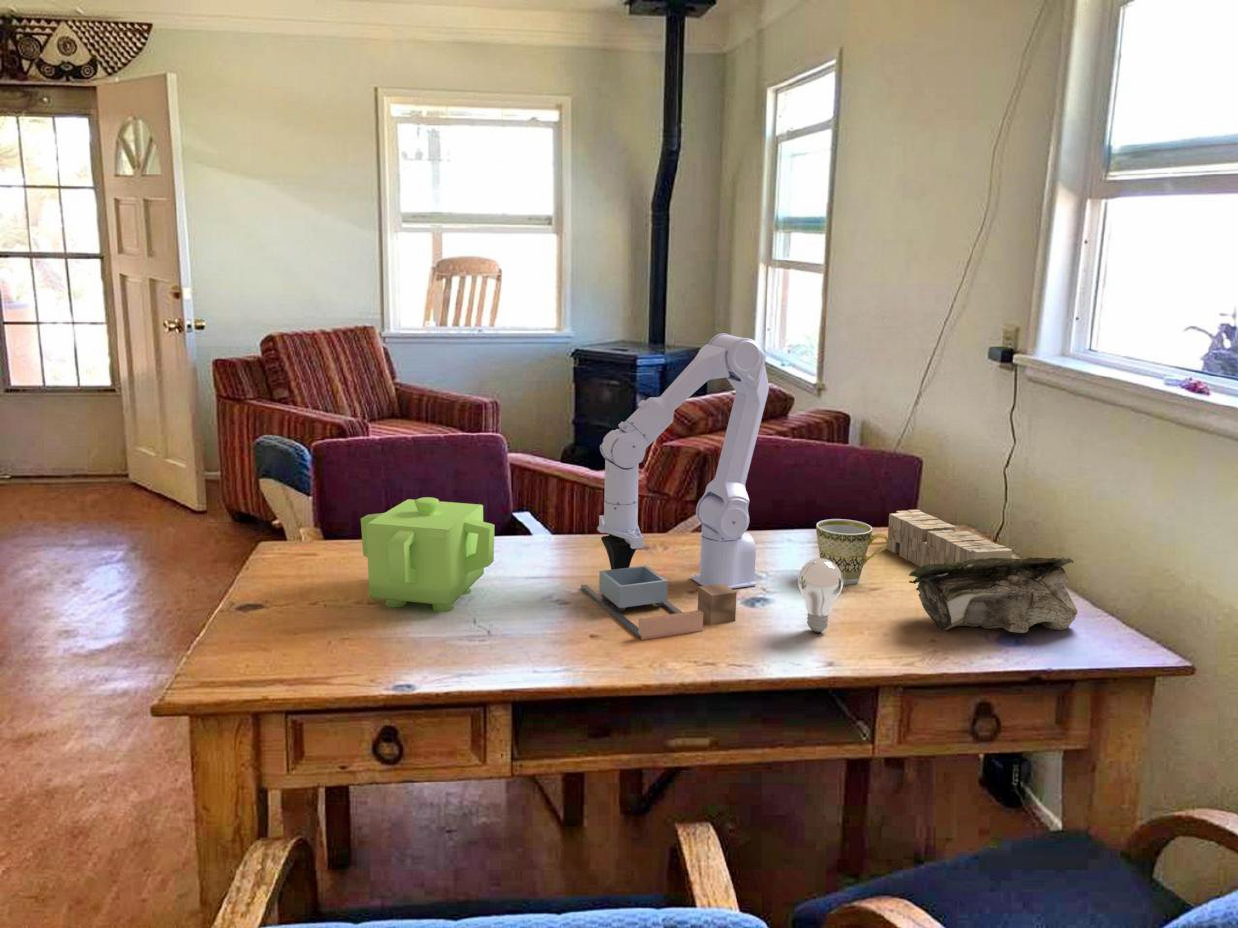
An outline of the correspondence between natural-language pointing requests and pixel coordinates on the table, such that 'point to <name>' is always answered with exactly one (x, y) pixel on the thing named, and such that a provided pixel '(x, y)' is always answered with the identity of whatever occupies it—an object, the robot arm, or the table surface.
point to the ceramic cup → (846, 545)
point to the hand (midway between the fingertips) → (619, 577)
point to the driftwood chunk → (997, 593)
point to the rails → (655, 620)
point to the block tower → (936, 541)
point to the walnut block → (717, 603)
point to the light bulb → (819, 590)
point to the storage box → (426, 551)
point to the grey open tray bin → (633, 587)
